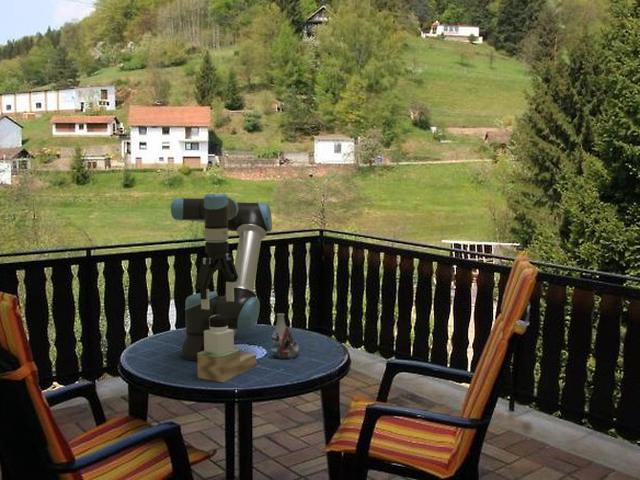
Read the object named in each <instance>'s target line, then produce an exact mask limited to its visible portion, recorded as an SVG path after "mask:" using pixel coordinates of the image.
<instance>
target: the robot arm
mask: <svg viewBox="0 0 640 480" xmlns="http://www.w3.org/2000/svg"><path fill="white" fill-rule="evenodd" d="M271 211H272V210H271V208H270V206H269V204H268V203H267V202H259V201H257V202H241V201H239V202H238V201H236V200H235V199H233V198H231V197H228V195H227V194H226V193H218V192H217V193H206V194H205V195H204V198H199V197H198V198H197V197H193V198H192V197H191V198H189V197H188V198H186V197H181V198H180V197H179V198H178V197H177V198H174V199H172V202H171V204H170V214H171V217H172V219H173V220H174V221H191V222H197V223H203V224H204V241H205V242H204V244H205V245H204V246H205V247H204V250H205V251H204V252H205V253H206V254H207V257H202V258H201V262H200V266H199V267H200V268H199V272H198V274H197V275H198V276H197V278H196V283H195V288H196V289H197V290H198V289H199V292H198V293H194V294H191V295H189V296H187V297H186V299H185V306H184V307H185V308H184V312H185V313H184V314H185V337H184V340H183V341H184V342H183V343H182V344H183V345H182V348H181V358H182V359H183V360H188V361H196V362H197V353H199V352H201V351H204V331H205V330H209V329H210V327H209V318H210V317H211V316H213V315H225V316H227V317H228V328H227V329H237V330H241V331H242V330H250V329H252V328H254V327H255V326H256V324H257V322H258V320H259V314H260V311H261V310H260V308H261V302H260V300H259V298H258V297H257V294H256V292H255V291H254V287H255V283H256V281H255V280H256V277H257V275H256V274H257V269H258V264H259V257H260V249H261V244H262V240H263V239H265V238H266V236H267V233H269V232H271V231H272V230H273V218H272V213H271ZM229 231H230V232H236V233H237V235H238V236H239V237H238V238H239V239H238V244H237V250H236V255H235V261H234V260H233V254H232V253H228V252H229V248H230V247H229V242H228V240H229ZM219 270H220V271H221V272H222V274H223V276H224V277H225V279H226V282H225V293H224V296H219V295H218V293H217V292H216V291H210V288H209V285H210V284H211V282H212V281H211V280H212V278H213V276H214V275H215V273H216V272H217V271H219Z"/></svg>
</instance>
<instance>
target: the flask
mask: <svg viewBox="0 0 640 480" xmlns="http://www.w3.org/2000/svg"><path fill="white" fill-rule="evenodd" d="M285 315H286V314H285V313H282V312H281V313H280V312H279V313H277V314H276V316H277V317H276V323H275V324H276V325H275V328H274V330H273V332H278V336H281V337H282V336H283V332H284V330H285V327H287V325H286V321H285ZM287 338H288V337H287ZM288 339H289V338H288Z"/></svg>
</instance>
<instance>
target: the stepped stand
mask: <svg viewBox="0 0 640 480" xmlns="http://www.w3.org/2000/svg"><path fill="white" fill-rule="evenodd" d="M240 349H241V348H240ZM240 349H239V348H234V351H231V352H228V353H224V354H221V355H216V354H212V353H208V352H205V351H201V352H199V353H197V361H196V362H197V378H198V379H201V378H202V380H208V381H214V382H217V383H224V382H227V381H228V380H230V379H232V378H235V377H237V376H238V375H241V374H243V373H245V372H247V371H249V370H251V369H253V368H255V367H257V354H253V353H247V352H241V350H240Z"/></svg>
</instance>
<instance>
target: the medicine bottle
mask: <svg viewBox="0 0 640 480" xmlns="http://www.w3.org/2000/svg"><path fill="white" fill-rule="evenodd" d="M209 327H210V329H209V330H205V331H204V351H205V352H208V353H212V354H216V355H221V354H224V353H228V352H231V351H234V349H235V336H234V330H231V329H227V328H228V317H227V316H225V315H213V316H211V317H210V318H209Z"/></svg>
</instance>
